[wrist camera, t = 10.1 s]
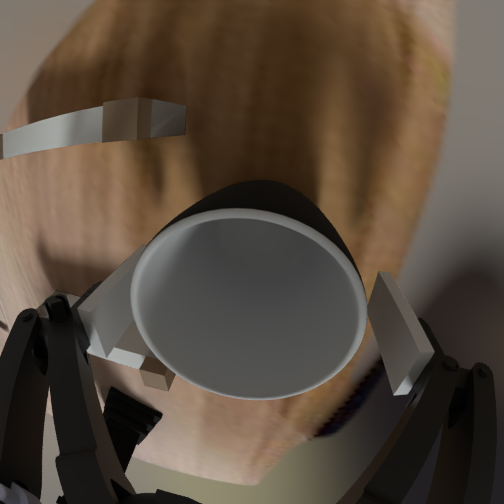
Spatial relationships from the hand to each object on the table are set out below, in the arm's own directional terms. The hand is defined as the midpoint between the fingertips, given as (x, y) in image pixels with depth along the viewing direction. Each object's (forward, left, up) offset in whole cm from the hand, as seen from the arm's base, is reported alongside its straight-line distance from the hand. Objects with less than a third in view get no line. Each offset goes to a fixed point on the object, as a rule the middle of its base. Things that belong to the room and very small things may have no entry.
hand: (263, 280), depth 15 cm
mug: (+1, 0, -4) cm, 4 cm away
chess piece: (-17, -28, -4) cm, 33 cm away
